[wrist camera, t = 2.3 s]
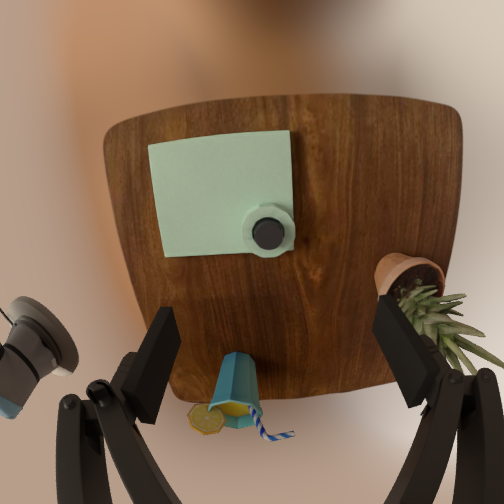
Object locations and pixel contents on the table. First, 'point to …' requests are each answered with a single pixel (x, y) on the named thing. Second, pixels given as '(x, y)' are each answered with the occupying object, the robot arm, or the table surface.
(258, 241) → the tare button
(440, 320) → the potted plant
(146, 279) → the table surface
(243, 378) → the cup
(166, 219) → the scale
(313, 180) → the table surface
